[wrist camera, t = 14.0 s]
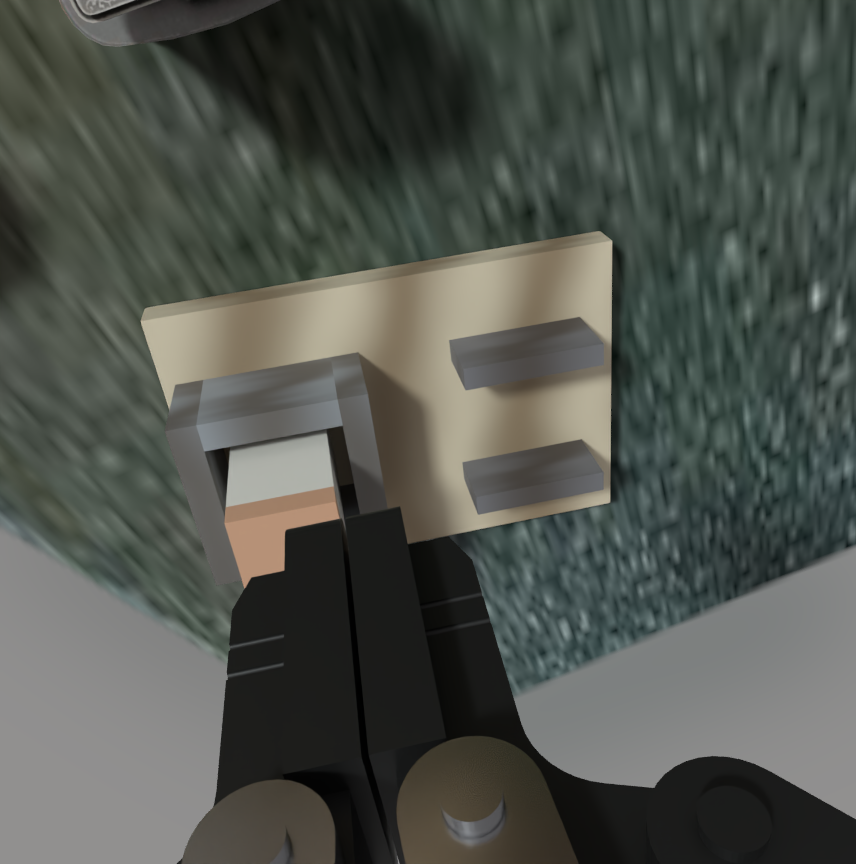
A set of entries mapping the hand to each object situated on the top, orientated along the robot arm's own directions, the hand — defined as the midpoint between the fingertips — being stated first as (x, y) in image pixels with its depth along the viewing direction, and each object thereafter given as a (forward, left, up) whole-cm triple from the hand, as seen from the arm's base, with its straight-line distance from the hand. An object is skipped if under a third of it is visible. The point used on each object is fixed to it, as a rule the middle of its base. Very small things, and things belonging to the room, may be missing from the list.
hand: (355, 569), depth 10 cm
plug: (+3, +12, -23) cm, 26 cm away
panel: (-3, +12, -25) cm, 28 cm away
